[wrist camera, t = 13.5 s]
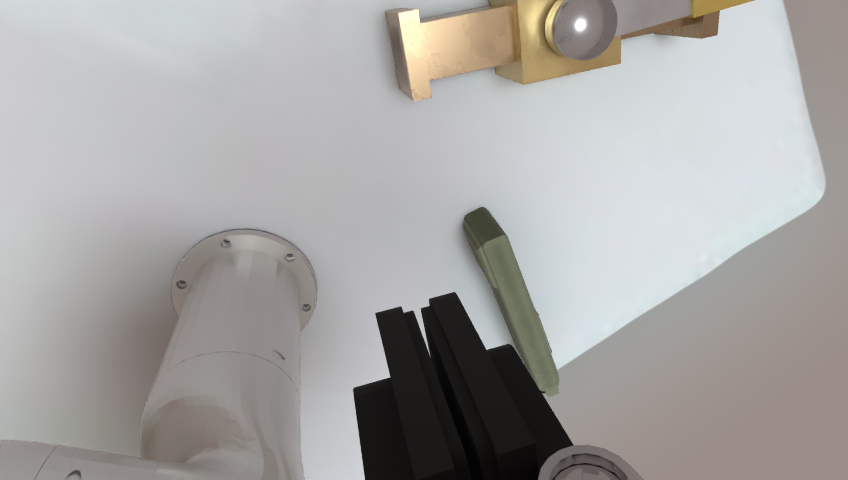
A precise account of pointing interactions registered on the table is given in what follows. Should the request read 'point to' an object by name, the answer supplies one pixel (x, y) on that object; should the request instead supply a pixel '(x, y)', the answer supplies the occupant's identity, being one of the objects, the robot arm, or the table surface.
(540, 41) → the valve body
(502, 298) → the handheld radio
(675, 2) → the lever
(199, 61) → the table surface
